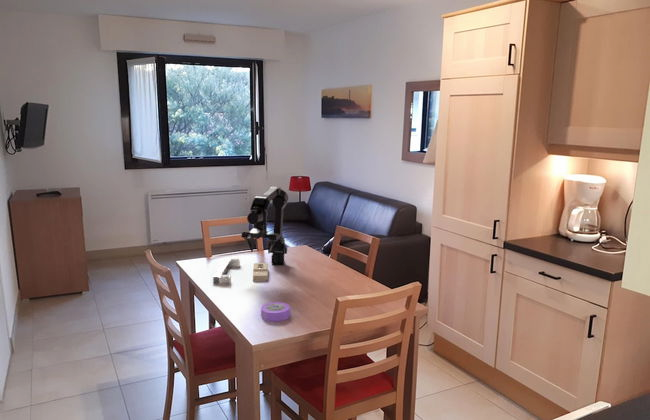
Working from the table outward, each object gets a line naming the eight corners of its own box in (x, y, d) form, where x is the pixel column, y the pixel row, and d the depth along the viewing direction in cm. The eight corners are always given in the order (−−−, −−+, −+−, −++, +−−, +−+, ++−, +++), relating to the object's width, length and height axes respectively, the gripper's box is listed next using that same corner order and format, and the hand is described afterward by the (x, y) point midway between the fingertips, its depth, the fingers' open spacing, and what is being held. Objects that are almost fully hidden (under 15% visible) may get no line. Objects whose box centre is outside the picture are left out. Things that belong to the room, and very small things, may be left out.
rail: (240, 265, 261) (239, 258, 260) (229, 284, 231) (229, 277, 230) (225, 265, 261) (225, 258, 260) (212, 284, 230) (212, 277, 230)
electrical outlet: (252, 273, 236) (253, 263, 253) (253, 281, 236) (253, 270, 254) (267, 273, 237) (267, 262, 254) (267, 281, 237) (267, 270, 255)
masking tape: (255, 317, 194) (255, 308, 194) (273, 308, 204) (273, 299, 203) (277, 324, 188) (277, 315, 187) (295, 314, 198) (295, 306, 197)
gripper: (236, 222, 233) (236, 253, 235) (272, 225, 228) (271, 257, 230) (246, 219, 244) (246, 249, 245) (280, 222, 238) (280, 253, 240)
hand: (260, 252), depth 240 cm, fingers open, 9 cm apart
